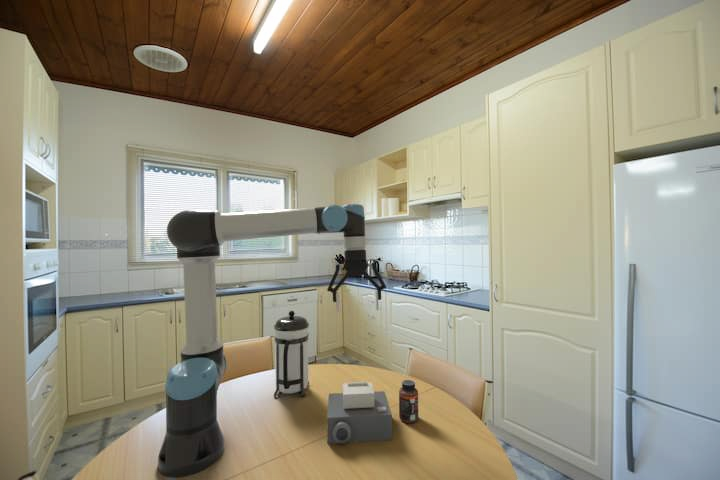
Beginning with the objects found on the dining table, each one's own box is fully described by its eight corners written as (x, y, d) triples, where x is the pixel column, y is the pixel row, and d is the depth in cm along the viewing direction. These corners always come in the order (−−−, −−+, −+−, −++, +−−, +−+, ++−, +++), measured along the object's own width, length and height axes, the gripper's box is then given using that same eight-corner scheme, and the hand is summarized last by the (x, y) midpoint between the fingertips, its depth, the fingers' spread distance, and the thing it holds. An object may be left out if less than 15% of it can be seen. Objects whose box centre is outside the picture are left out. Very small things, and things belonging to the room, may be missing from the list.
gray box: (327, 448, 83) (326, 420, 84) (329, 415, 100) (328, 391, 100) (393, 445, 85) (393, 417, 85) (384, 412, 101) (384, 389, 101)
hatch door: (343, 408, 90) (343, 392, 90) (342, 396, 97) (342, 381, 97) (374, 407, 90) (374, 390, 90) (371, 395, 97) (371, 380, 97)
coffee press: (261, 391, 117) (261, 311, 117) (299, 378, 127) (298, 305, 128) (284, 409, 104) (283, 319, 104) (323, 393, 115) (323, 311, 115)
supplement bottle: (418, 425, 94) (418, 387, 94) (398, 423, 95) (398, 386, 95) (418, 414, 100) (417, 378, 100) (399, 413, 101) (399, 377, 101)
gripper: (389, 247, 112) (391, 306, 112) (320, 250, 111) (322, 309, 111) (392, 247, 105) (395, 310, 105) (317, 251, 104) (320, 314, 104)
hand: (357, 310), depth 108 cm, fingers open, 13 cm apart
